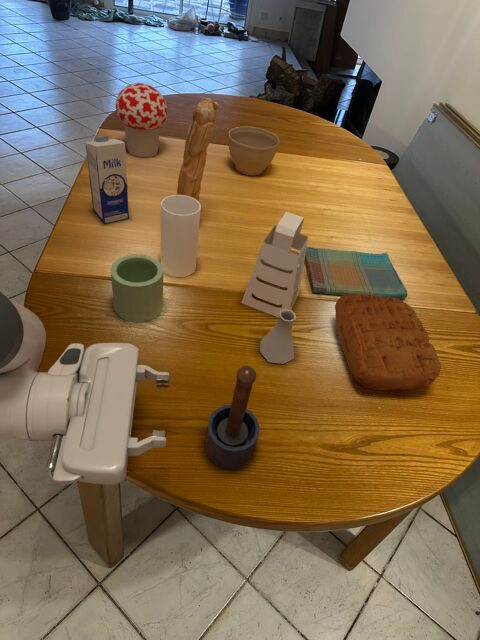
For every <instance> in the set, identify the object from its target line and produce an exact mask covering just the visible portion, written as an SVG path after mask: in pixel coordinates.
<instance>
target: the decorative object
mask: <svg viewBox="0 0 480 640" xmlns="http://www.w3.org/2000/svg"><path fill="white" fill-rule="evenodd" d="M115 112H116V115H117V118H118V119H119V120H120V122H121V123H122V124H123V125H124V135H125V144H126V148H127V152H128V153H129V154H130V155H131V156H134V157H138V158H139V157H140V158H151V157H155V156H156V155H157V154H158V151H159V143H160V133H161V132H160V128H162V126H163V125H164V124H165V123H166V121H167V118H168V104H167V102H166V99H165V98H164V96H163V95H162V94H161V92H160V91H159V90H158V89H157V88H155V87H154V86H152V85H150V84H148V83H141V82H134V83H130V84H128V85H126V86H125V87H124V88H122V89H121V90H120V91H119V93H118V95H117V96H116V99H115Z"/></svg>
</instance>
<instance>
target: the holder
mask: <svg viewBox="0 0 480 640" xmlns="http://www.w3.org/2000/svg"><path fill="white" fill-rule="evenodd" d="M230 408H231V404H224V405H222V406H220V407H218V408H216V409H215V410H214V411H213V412H212V413H211V415H210V416H209V418H208V422H207V426H206V433H205V439H204V451H205V454H206V456H207V458H208V460H210V462H211V463H212V464H214V465H215V466H217V467H218V468H221V469H225V470H237V469H239V468H242V467H244V466H245V465H247V464H248V462H249V461H250V460H251V459H252V457H253V455H254V451H255V448H256V445H257V443H258V440H259V437H260V431H261V427H260V424H259V421H258V418H257V417H256V416H255V414H254V413H253V412H252V411H251V410H249V409H248V408H246V411H245V415H244V419H243V422H244V423H245V424H246V426H247V428H248V437H247V440H246V443H245V445H244V446H240V447H231V446H226V445H224V444H223V443H221V442H220V441H218V440H217V438H216V433H217V428H218V425H219V423H220V422H221V421H222V420H224V419H226V418H228V417H229V413H230Z"/></svg>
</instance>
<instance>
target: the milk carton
mask: <svg viewBox="0 0 480 640" xmlns="http://www.w3.org/2000/svg"><path fill="white" fill-rule="evenodd" d="M94 138H95V140H91V141H84V144H85V151H86V160H87V169H88V176H89V186H90V194H91V203H92V210H93V213H94V214H95V215H96V217H98V219H99V221H101V222H102V224H103V225H107V224H111V223H116V222H120V221H121V222H122V221H124V220H129V219H130V213H129V211H130V210H129V194H128V176H127V175H128V173H127V156H126V141H125V142H124V141H123V140H120V139H117V138H109V136H108V135H106V134H105V135H104V134H102V135H95V136H94Z"/></svg>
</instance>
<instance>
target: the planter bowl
mask: <svg viewBox="0 0 480 640" xmlns="http://www.w3.org/2000/svg"><path fill="white" fill-rule="evenodd" d="M279 145H280V139H279V137H278V136H277V135H276V134H275V133H274V132H272V131H269V130H267V129H264V128H261V127H256V126H237V127H233V128H231V129H230V130H229V131H228V149H229V150H228V151H229V154H230V157H231V159H232V161H233V164H234V168H235V170H236V171H237V172H238V173H240V174H243V175H245V176H259V175H261V174H263V173H264V170H265V169H266V168H268V166H269V165H270V164H271V162H273V160H274V158H275V157H276V153H277V150H278V147H279Z"/></svg>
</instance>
